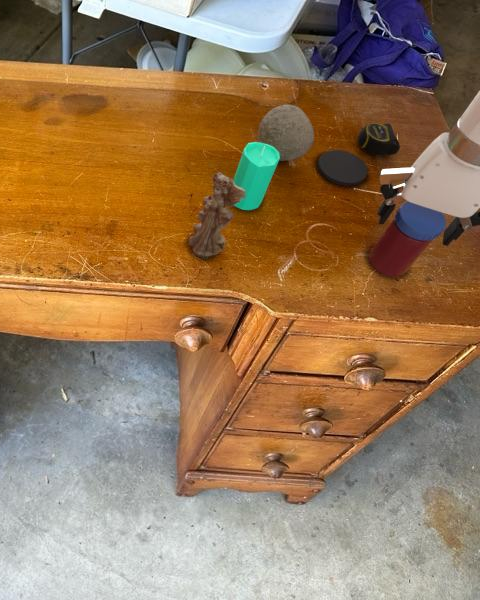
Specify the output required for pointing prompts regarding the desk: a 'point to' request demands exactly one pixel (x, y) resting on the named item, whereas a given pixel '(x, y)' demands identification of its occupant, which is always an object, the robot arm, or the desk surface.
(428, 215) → the jam lid
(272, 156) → the candle
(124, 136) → the desk surface
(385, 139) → the tape measure
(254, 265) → the desk surface
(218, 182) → the figurine
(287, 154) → the decorative stone
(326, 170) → the coaster
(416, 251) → the jam jar
